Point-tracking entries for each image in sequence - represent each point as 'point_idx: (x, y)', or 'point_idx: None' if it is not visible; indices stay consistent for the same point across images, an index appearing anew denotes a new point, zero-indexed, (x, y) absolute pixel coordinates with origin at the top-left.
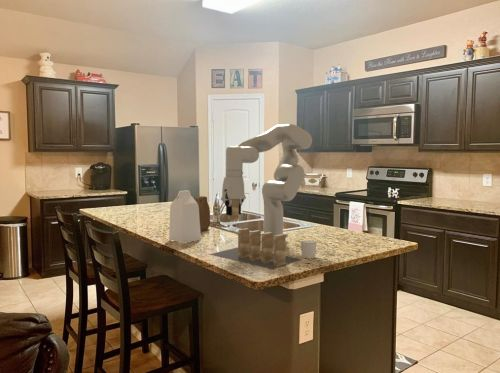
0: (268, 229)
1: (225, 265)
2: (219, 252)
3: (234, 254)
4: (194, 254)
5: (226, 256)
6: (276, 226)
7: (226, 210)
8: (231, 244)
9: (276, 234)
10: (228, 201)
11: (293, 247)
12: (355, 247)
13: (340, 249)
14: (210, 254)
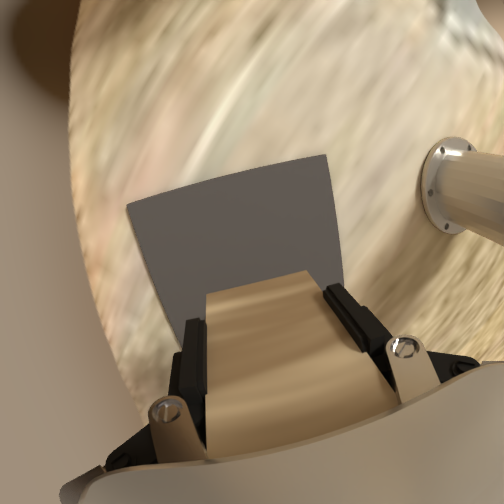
0: (474, 209)
1: (133, 348)
2: (180, 198)
3: (219, 266)
4: (88, 150)
5: (174, 276)
6: (493, 240)
7: (173, 372)
8: (331, 70)
9: (470, 230)
10: (209, 456)
11: (451, 270)
12: (496, 335)
13: (476, 340)
14: (130, 210)
